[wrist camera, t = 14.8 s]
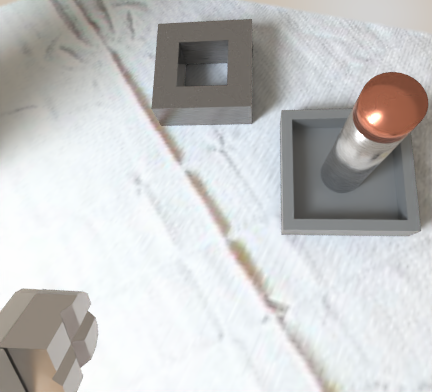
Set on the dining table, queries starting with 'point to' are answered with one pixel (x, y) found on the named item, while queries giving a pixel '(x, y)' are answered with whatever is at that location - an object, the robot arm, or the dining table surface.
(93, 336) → the robot arm
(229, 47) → the socket
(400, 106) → the pin
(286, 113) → the tray
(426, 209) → the dining table surface
